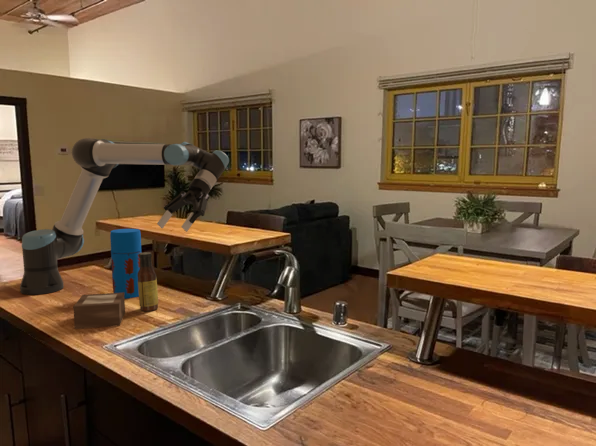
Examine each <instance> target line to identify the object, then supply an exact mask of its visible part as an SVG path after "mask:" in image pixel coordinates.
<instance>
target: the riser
mask: <svg viewBox="0 0 596 446" xmlns="http://www.w3.org/2000/svg"><path fill="white" fill-rule="evenodd" d="M125 306H126V301H125V298H124V292H123V293H113V292H110V293H92V294H90V293H89V294H82V295H81V296H80V298H79V299H78V300H77V301H76V303H75V304H74V305H73V307H72V308H73V322H74V325H73V326H74V330H80V329H92V328H105V327H107V328H108V327H119V326H121V324H122V322H123V319H124V317H125V314H126V307H125ZM123 316H124V317H123Z"/></svg>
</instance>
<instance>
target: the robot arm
mask: <svg viewBox="0 0 596 446" xmlns="http://www.w3.org/2000/svg"><path fill="white" fill-rule="evenodd" d="M71 156H72V159H73V161H74V162H75V163H76V164H77V165H78V166H79V167H80V169H81V171H80V174H79V176H78V178H77V181H76V183H75V186H74V187H73V190H72V192H71V195H70V197H69V198H68V199H69V200H68V202H67V205H66V207H65V209H64V211H63V214H62V216H61V219H60V220H57V221H55V222H54V225H53V226H52V228H51V229H48V228H47V229H46V228H45V229H38V230H32V231H29V232H26V233H24V234H23V235H22V237H21V250H22V251H21V252H22V260H23V261H22V263H23V275H22V278H21V282H20V286H19V290H20V294H23V295H44V294H52V293H55V292H57V291H58V292H59V291H61V290H63V289H64V287H65V286H64V280H63V277H62V276H61V273H60V271H59V269H58V260H60V259H62V258H66V257H70V256H73V255H75V254H77V253H78V252H80V251H81V250H82V249H83V246H84V243H85V238H84V231H85V230H84V229H83V226H84V223H85V221H86V219H87V217H88V214H89V212H90V209H91V207H92V206H93V202H94V201H95V198H96V196H97V193H98V191H99V189H100V188H101V187H100V186H101V184H102V183H103V180H104V179H106V178H108V177H109V176H110V174H111V171H112V170H113V169H115V168H117V166H119V165H154V166H156V165H158V166H159V165H163V166H164V165H165V166H192V167H194V168H196V169H198V170H199V171H198V172H197V173H196V175H195V177H194V178H193V179H192V181H191V182H190V184H189V185H188V191H187V192H185V191H184V190H182V191H180V192H179V194H178V195H177V196H175V197H174V198H173V199H172V200H171V201H169V202H168V203H167V204H166V205H165V206H164V207H163V210H165V212H164V213H163V214H162V215H161V217H160V219H159V220H158V221H157V225H158V226H159V228H161V229H163V228H164V227H165V226H166V224H167V223H168V222H169V220H171V218H172V216H173V213H175V212H176V211H178V210H179V209H181V208H182V207H184V206H189V205H192V206H193V208H192V209H193V210H192V212H190V213H189V215H188V217H187V218H186V219H185V220H184V222H183V223H182V225H181V228H182V229H183V230H184V231H185V232H189V230H190V229H191V227H192V225H193V224H195V221H197V219H198V218H200V217H204V216H205V213H206V209H207V204H208V201H209V199H210V196H209V193H210V192H211V190H212V188H213V187H214V186H215V184H216V183H217V181H218V179H219V178H220V177H221V176H222V174H223V173H224V172H225V171H226V168H227V167H228V165H229V162H230V158H229V157H228V155H227V154H226V153H225V152H223V151H222V150H218V149H217V150H214V151H213V152H210V151H209V152H208V151H206V150H204V149H202V148H200V147H198V146H196V145H194V144H193V143H189V142H187V141H183V142H181V143H172V144H170V143H169V144H166V143H118V142H117V143H115V142H113V141H111V140H108V139H103V138H102V139H100V138H99V139H98V138H90V137H88V138H87V137H85V138H81V139H79V140H77V141H76V142H75V143H74V145H72V149H71Z"/></svg>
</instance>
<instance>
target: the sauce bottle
mask: <svg viewBox="0 0 596 446" xmlns="http://www.w3.org/2000/svg"><path fill="white" fill-rule="evenodd" d="M152 256H153V255H152V252H151V251H150V252H149V251H147V252H146V251H145V252H141V253H140V254H139V258H140V269H139V271H138V291H139V296H138V300H139V301H138V302H139V309H140V311H142V312H152V311H155V310H158V309H159V294H158V293H159V292H158V280H157V279H158V278H157V274H156V272H155V271H156V270H155V269H154V267H153V263H152Z"/></svg>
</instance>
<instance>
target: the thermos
mask: <svg viewBox="0 0 596 446" xmlns="http://www.w3.org/2000/svg"><path fill="white" fill-rule="evenodd" d="M141 235H142V234H141V229H139V228H120V229H119V228H118V229H113V230H110V236H109V239H110V258H111V274H112V275H111V276H112V279H111V281H112V293H123V292H124V298H125V299H127V300H128V299H133V298H139V291H138V271H139V269H140V258H139V254H140V253H142V236H141Z"/></svg>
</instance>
